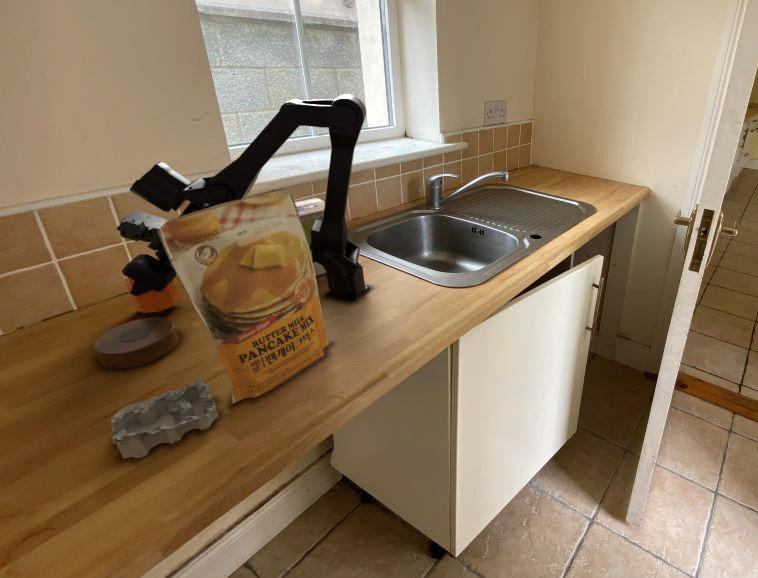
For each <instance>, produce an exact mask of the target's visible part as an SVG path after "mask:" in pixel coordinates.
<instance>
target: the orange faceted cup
mask: <svg viewBox="0 0 758 578" xmlns="http://www.w3.org/2000/svg"><path fill="white" fill-rule="evenodd" d="M158 260H159V259H158ZM165 264H167V263H165ZM120 273H121V275H122V278H123V281H124V283H125V284H126V288H127V290H128V292H129V295H130V297H131V300H132V303H133V305H134V307H135V310H136V311H138V312H140V313H142V314H148V313H149V314H150V313H158V312H162V311H164V310H167V309H169V308H173V307H174V306H175V305H176V304H177V303H178V302H179V300H180V297H179V294H178V291H177V289H176V286H175V283H174V279H173V280H172V281H171V282H170V283H169V284H168V286H167V287H166V288H165V289H164V290H163V291H162V292H156V291H154V290H152V291H149V292H146V293H144V294H141V295H139V296H134V295H132V294H130V291H131V289H132V286H133V283H134V281H135V280H133V279H131V278H129V277H127V276H125V275H123V273H122V270H121V271H120Z"/></svg>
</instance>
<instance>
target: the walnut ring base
mask: <svg viewBox="0 0 758 578" xmlns="http://www.w3.org/2000/svg"><path fill="white" fill-rule="evenodd" d="M179 340H180V339H179V335H178V333H177V330H176V327H175V325H174V322H173V321H172V320H171V319H170V318H166V317H158V316H155V317H153V316H152V317H145V318H139V319H135V320H130V321H128V322H125V323H122V324H119V325H117V326H115V327H112V328H111V329H109V330H107V331H105V332H104V333H103V334H101V335H100V336H99V337H98V338H97V339H96V340H95V342H94V345H93V348H94V351H95V352H96V355H97V357H98V359H99V361H100V363H101V364H102V366H103V367H105V368H107V369H112V370H125V369H132V368H136V367H140V366H144V365H147V364H150V363H152V362H154V361H156V360H157V361H158V360H159V359H161V358H163V357H165V356H166V355H168V354H169V353H170V352H172V351H173V350H174V349H175V348H176V347H177V345H178V343H179Z"/></svg>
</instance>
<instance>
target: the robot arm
mask: <svg viewBox="0 0 758 578" xmlns="http://www.w3.org/2000/svg"><path fill="white" fill-rule="evenodd" d="M366 116H367V108H366V105H365V103H364V102H363V101H362V100H361V98H359V97H357V96H356V95H353V94H350V93H345V94H341V95H339V96H338V97H336V98H334V99H330V98H329V99H326V98H325V99H309V100H306V99H304V100H303V99H290V100H288V101H286V102H284V103H283V104H282V105H280V108H279V110H278V112H277V113H276V114H275V115H274V117H273V118H272V119H271V120H270V121H269V122H268V123H267V124H266V126H265V127H264V128H263V129H262V130H261V131H260V132H259V133H258V135H257V136H256V137H255V138H254V139H253V140H252V141H251V143H250V144H249V145H248V146H247V147H246V149H245V150H243V152H242V153H241V154H240V155H239V156H238V157H237V158H236V159H235V160H233V161H232V162H231V163H229V164H228V165H227V166H225V167H224V168H222V169H220V171H219V172H217V173H216V174H215V175H213V176H208V177H207V176H206V177H200V178H197V179H195V180H194V181H193V182H192V181H191V180H189V179H188V178H186V177H185V176H183V175H181V174H180V173H178V172H176V171H175V170H174V169H173V168H171V167H170V166H169V165H168V164H166V163H165V162H164V161H159V162H157V163H155V164H153V166H152V167H151V168H150V169H149V170H148V171H146V172H145V173H144V174H143V175H142V176H141V177H139V178H137V179H136V180H135V181H134V183H133V184H132V185H131V186H130V188H129V192H130V193H132V194H134V195H135V196H137V197H139V198H141V199H143V200H144V201H146V202H148V203H149V204H150V205H152V206H154V207H156V208H157V209H159V210H161V211H162V212H164V213H169V212H170V211H172V210H173V211H174V212H177V211H178V210H179V209H180V208H182V207H183V206H184V205H185V204H186V203H187V201H188V202H189V203H188V204H187V206H186V207H185V208H184V209H183V211H181V213H180V214H179V215H178V216H176V217H175V218H178V217H180V216H183V215H186V214H190V213H193V212H196V211H199V210H203V209H206V208H209V207H213V206H216V205H219V204H223V203H226V202H231V201H235V200H240V199H245V198H247V196H248V195H249V193H251V190H252V188H254V185H255V183H256V181H257V179H258V177H259V175H260V173H261V171H262V170H263V168H264V167H265V165H266V164H267V163H268V162H269V161H270V160H271V159H272V158H273V156H275V154H276V153H277V152H278V151H279V150H280V149H281V147H283V145H284V144H286V142H287V141H288V140H289V139H290V137H292V135H293V134H294V133H295V132H296V131H297V130H298V128H300V127H313V128H314V127H315V128H321V129H323V128H328V134H329V140H330V149H331V151H330V157H329V158H330V159H329V167H328V175H327V183H326V191H325V200H324V202H325V208H324V216H323V221H320V220H317V219H316V220H315V222H314V225H313V227H312V229H311V244H310V246H309V247H310V250H312V257H313V259H314V260H315V261H316V262H317V263H318V264H320V265H322V266H323V267H324V269H325V270H326V273H325V276H326V281H327V286H328V290H329V291H327V292H326V293H325V294H324V295H325V297H326V298H330V299H333V300H339V301H344V302H348V303H349V302H350V303H353V302H355V301H356V300H357V299H358V298H359V297H361V296H362V295H363V294H365V293H366V292H367V291H369V289H371V285H370V284H367V283H365V275H364V268H363V267H364V266H363V264H360V262H359V257H360V251H361V247H360V246H358V245H357V244H355V243H354V242H353V241H351V240H349V238H348V225H347V220H346V212H347V204H348V199H349V192H350V185H351V184H350V183H351V176H352V169H353V162H354V154H355V149H356V146H357V143H358V140H359V137H360V134H361V131H362V129H363V125H364V122H365V119H366ZM166 221H169V219H165V218H164V217H161V216H159V215H155V214H151V213H148V212H144V211H141V210H133V211H131V212H129V213H128V214H126V215H125V216H123V217H122V219H121V221H120V224H119V225H118V226H116V230H117V231H118V232H119V236H120V237H121V238H123V239H126V240H130V241H134V242H140V241H141V242H144V243H149V244H148V245H147V246H146V248H149V249H150V250H152V251H154V253H153V256H152V255H150V254H149V253H143V254H138V255H136V256H135V257H134V258H132V260H130V261H129V262H127V264H126V265H125V266H124V267H123V269H121V271H122V273H123V275H125V276H127V277H129V278H131V279H133V280H135V281H134V283H133V286H132V289H131V291H130V293H129V295H130V294H132V295H134V296H139V295H141V294H144V293H146V292H149V291H152V290H154V291H156V292H162V291H163V290H164V289H165V288H166V287H167V286H168V284H169V283H170V282H171V281H172V280H173V281H174V279H175V278H176V277H177V276H178V274H177V273H176V271H175V270H174V268H173V267H172V265H171V263H170V260H169V258H168V256H167V254H166V251H165V249H164V247H163V244H162V242H161V239H160V237H159V234H158V232H157V231H158V230H159V229H160V228H161V227H162V226H163V225H164V224H165V222H166ZM154 256H155V257H154ZM158 259H159V260H158ZM165 263H167V264H165ZM122 273H121V274H122Z"/></svg>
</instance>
